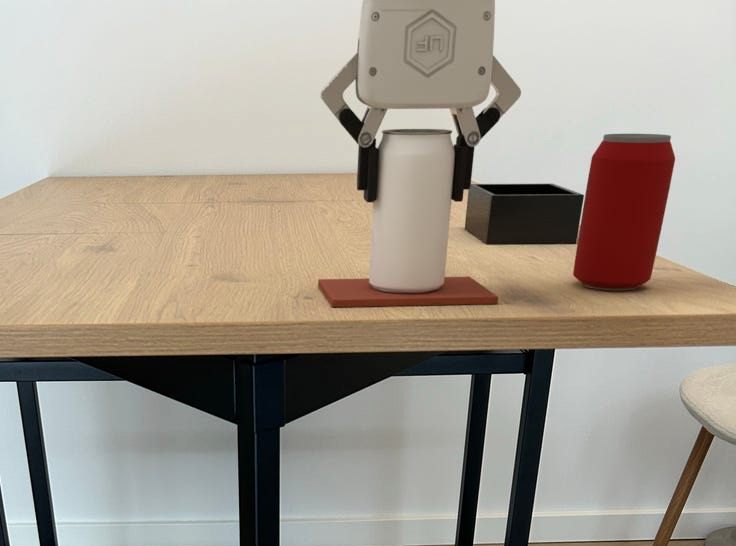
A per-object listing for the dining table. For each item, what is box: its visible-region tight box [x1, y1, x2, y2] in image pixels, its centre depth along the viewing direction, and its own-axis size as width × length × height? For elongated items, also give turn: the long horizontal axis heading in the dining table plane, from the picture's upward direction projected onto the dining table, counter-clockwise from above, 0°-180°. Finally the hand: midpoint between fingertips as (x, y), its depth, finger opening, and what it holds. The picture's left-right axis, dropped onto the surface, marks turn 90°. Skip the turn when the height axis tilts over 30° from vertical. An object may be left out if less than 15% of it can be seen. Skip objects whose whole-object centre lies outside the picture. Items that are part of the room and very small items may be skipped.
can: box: [368, 128, 455, 294], centre depth 78 cm, size 6×6×12 cm
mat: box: [317, 276, 499, 308], centre depth 81 cm, size 14×9×1 cm, turn 94°
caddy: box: [464, 183, 585, 245], centre depth 109 cm, size 12×10×5 cm
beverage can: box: [572, 133, 676, 292], centre depth 82 cm, size 7×7×12 cm
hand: (412, 198), depth 78 cm, fingers closed on can, 6 cm apart
